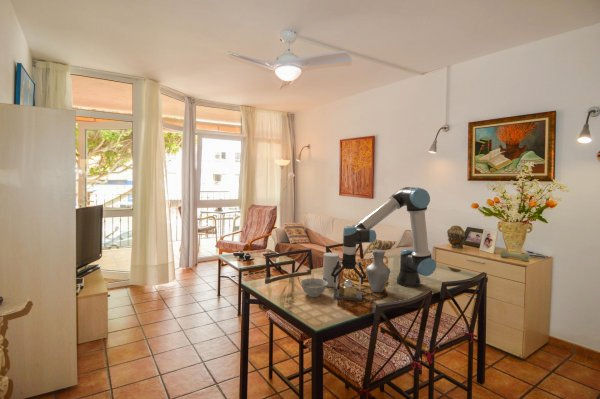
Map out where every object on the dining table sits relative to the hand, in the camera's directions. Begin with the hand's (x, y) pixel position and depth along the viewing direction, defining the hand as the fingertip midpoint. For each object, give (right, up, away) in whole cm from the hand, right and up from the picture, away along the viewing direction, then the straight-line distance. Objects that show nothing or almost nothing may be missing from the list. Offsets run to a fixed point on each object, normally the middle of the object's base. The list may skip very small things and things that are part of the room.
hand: (348, 288), depth 193 cm
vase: (+19, -4, +11) cm, 23 cm away
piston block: (0, -4, 0) cm, 4 cm away
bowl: (-20, -4, +1) cm, 21 cm away
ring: (0, -3, 0) cm, 3 cm away
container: (-9, -3, +20) cm, 22 cm away
